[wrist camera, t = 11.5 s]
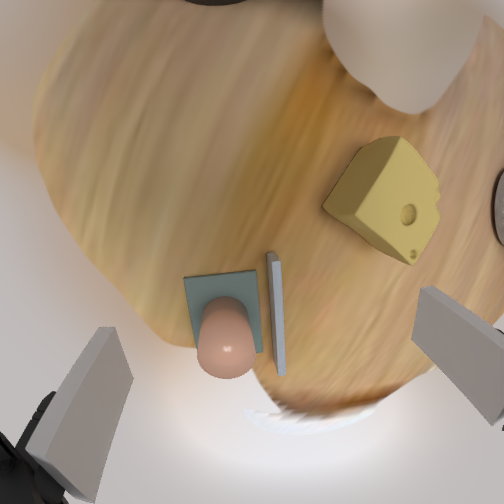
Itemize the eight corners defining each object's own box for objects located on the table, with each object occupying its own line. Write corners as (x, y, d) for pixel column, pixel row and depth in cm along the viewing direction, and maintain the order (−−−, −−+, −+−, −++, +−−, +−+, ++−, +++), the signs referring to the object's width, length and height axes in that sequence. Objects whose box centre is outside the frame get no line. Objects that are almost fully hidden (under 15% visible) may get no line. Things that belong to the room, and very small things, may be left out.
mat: (184, 277, 35) (183, 278, 34) (255, 269, 36) (256, 271, 35) (199, 356, 38) (199, 358, 37) (262, 349, 39) (262, 352, 38)
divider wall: (266, 253, 35) (271, 261, 32) (274, 252, 35) (280, 260, 32) (273, 359, 39) (278, 376, 35) (280, 358, 39) (285, 374, 36)
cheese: (409, 190, 35) (456, 195, 26) (371, 251, 37) (412, 273, 27) (359, 141, 33) (401, 131, 24) (315, 207, 35) (348, 217, 25)
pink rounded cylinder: (198, 298, 35) (192, 334, 27) (246, 293, 36) (253, 328, 27) (205, 339, 37) (202, 380, 28) (250, 334, 37) (258, 375, 29)
